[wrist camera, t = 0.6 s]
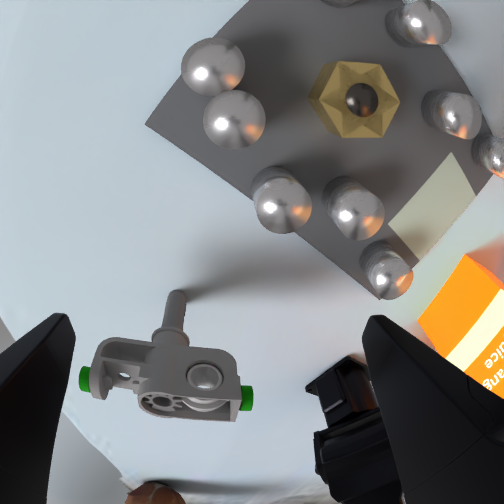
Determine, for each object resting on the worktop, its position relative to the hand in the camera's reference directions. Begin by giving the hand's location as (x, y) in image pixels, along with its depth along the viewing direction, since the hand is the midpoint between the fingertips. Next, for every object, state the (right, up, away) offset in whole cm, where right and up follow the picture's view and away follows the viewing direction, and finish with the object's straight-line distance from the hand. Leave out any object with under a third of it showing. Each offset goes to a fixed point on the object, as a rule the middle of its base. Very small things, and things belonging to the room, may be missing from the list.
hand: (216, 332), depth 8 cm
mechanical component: (-5, -1, +15) cm, 16 cm away
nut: (+7, +12, +8) cm, 16 cm away
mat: (+9, +11, +10) cm, 17 cm away
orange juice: (+24, -3, +19) cm, 31 cm away
